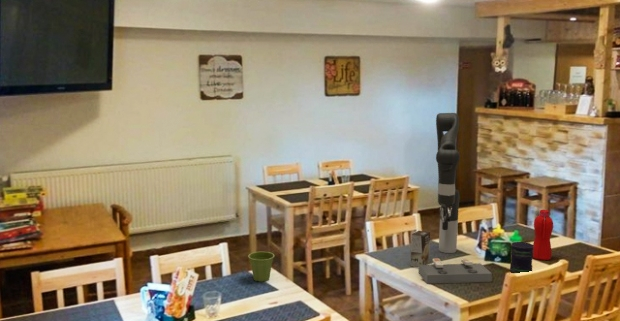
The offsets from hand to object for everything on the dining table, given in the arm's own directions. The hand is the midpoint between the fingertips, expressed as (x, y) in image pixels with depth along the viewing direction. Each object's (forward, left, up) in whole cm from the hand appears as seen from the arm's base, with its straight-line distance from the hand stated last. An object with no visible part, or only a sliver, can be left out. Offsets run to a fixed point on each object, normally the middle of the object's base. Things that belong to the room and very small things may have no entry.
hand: (444, 229), depth 280 cm
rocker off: (0, -3, -16) cm, 16 cm away
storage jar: (+3, +36, -22) cm, 43 cm away
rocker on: (0, +11, -16) cm, 20 cm away
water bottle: (-21, +58, -22) cm, 66 cm away
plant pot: (-2, -84, -22) cm, 87 cm away
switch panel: (+3, +4, -22) cm, 23 cm away
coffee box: (-16, -7, -22) cm, 28 cm away
